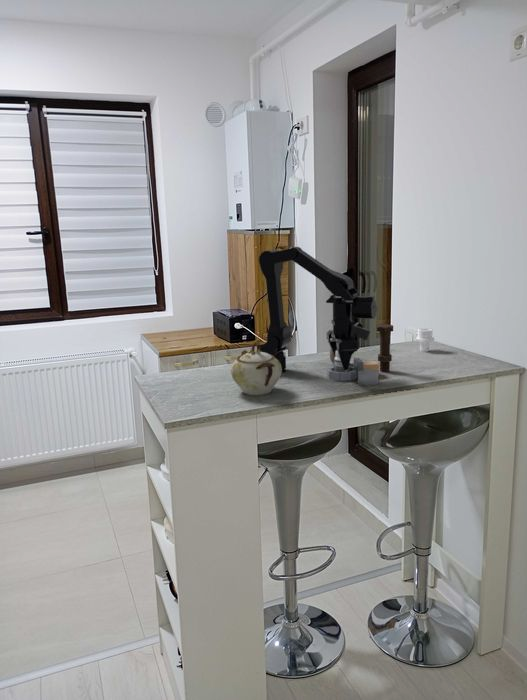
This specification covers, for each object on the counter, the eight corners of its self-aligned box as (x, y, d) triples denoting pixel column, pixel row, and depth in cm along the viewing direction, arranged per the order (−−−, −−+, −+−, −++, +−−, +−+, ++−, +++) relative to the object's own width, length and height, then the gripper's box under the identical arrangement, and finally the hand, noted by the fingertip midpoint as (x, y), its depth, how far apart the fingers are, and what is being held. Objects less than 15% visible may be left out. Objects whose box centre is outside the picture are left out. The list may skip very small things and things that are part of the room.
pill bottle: (343, 374, 190) (343, 348, 188) (352, 377, 186) (352, 351, 184) (331, 376, 188) (331, 350, 186) (340, 379, 183) (340, 353, 182)
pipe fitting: (421, 347, 223) (422, 327, 221) (437, 350, 218) (438, 329, 216) (411, 350, 219) (411, 329, 217) (427, 353, 214) (427, 331, 212)
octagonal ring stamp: (331, 381, 182) (331, 365, 181) (325, 374, 191) (325, 358, 189) (381, 378, 183) (381, 362, 182) (372, 371, 192) (372, 355, 191)
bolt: (392, 373, 189) (393, 327, 185) (376, 373, 190) (377, 327, 186) (392, 368, 194) (393, 324, 191) (376, 368, 195) (377, 324, 192)
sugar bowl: (295, 395, 169) (294, 344, 165) (247, 404, 162) (245, 351, 159) (265, 380, 186) (264, 333, 183) (221, 387, 180) (219, 338, 177)
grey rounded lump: (360, 386, 176) (360, 374, 175) (355, 380, 182) (355, 369, 181) (380, 385, 177) (380, 373, 176) (374, 379, 183) (374, 368, 182)
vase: (327, 366, 200) (327, 341, 198) (332, 361, 207) (331, 337, 205) (348, 367, 198) (348, 341, 196) (351, 362, 205) (351, 337, 203)
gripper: (376, 321, 174) (375, 372, 178) (359, 311, 192) (359, 358, 196) (339, 323, 173) (339, 374, 176) (326, 313, 191) (326, 360, 195)
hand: (342, 366), depth 186 cm, fingers open, 9 cm apart
